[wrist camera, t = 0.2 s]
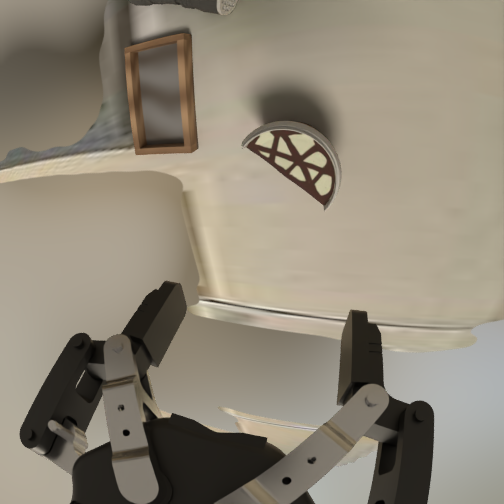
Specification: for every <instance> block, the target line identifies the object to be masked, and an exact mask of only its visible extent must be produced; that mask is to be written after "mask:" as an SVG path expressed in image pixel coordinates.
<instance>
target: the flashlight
mask: <svg viewBox="0 0 504 504" xmlns="http://www.w3.org/2000/svg"><path fill="white" fill-rule="evenodd" d="M128 1H129V2H130V3H132V4H134V5H142V6H146V5H152V4H178V5H180V4H181V5H182V6H183V7H185V8H192V9H195V8H196V9H199V10H201V11H204V12H210V13H215V14H221V15H228V14H229V13H230V12H231V11H232V10H233V9H234V7H235V6H236V4H237V1H238V0H128Z"/></svg>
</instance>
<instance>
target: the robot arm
mask: <svg viewBox="0 0 504 504" xmlns="http://www.w3.org/2000/svg"><path fill="white" fill-rule="evenodd" d="M186 309H187V306H186V301H185V297H184V294H183V290H182V286H181V284H180V283H175V282H170V281H165V282H164V283H163V284H162V286H161V287H160V288H159V290H157V289H155V290H153V291H152V292H151V293H149V294H148V295H147V296H146V297H145V299H144V300H143V302H142V304H141V305H140V306H139V307H138V310H137V311H136V312H135V313H134V315H133V316H132V318H131V319H130V321H129V322H128V324H127V325H126V327H125V328H124V330H123V332H122V333H121V334H116V335H113V336H111V337H110V338H108V339H107V341H96V340H91V338H90V337H89V335H87V334H86V333H78V334H76V335H74V336H73V337H72V338H71V339H70V340H69V342H68V343H67V345H66V347H65V348H64V350H63V351H62V353H61V355H60V356H59V358H58V360H57V361H56V363H55V365H54V366H53V368H52V370H51V371H50V373H49V375H48V377H47V378H46V380H45V382H44V384H43V385H42V387H41V389H40V391H39V393H38V395H37V397H36V398H35V400H34V402H33V404H32V406H31V408H30V410H29V412H28V414H27V416H26V418H25V421H24V422H23V424H22V427H21V429H20V439H21V442H22V444H23V445H24V446H25V447H27V448H29V449H31V450H32V451H34V452H36V453H37V454H38V455H40V456H42V457H44V458H46V459H48V460H50V461H52V462H53V463H55V464H56V465H58V466H59V467H61V468H62V469H63V470H65V471H67V472H68V473H70V474H71V475H72V482H73V495H72V500H71V503H70V504H315V503H314V501H313V500H312V498H311V496H310V495H309V493H308V491H307V490H308V489H309V488H310V487H312V486H313V485H314V484H315V483H316V482H317V481H319V480H320V479H321V478H322V477H323V476H324V475H326V474H327V473H328V472H329V471H330V470H331V469H332V468H333V467H334V466H335V465H336V464H337V463H338V462H339V461H340V460H341V459H342V458H343V457H344V456H345V455H346V454H347V453H348V452H349V451H350V450H351V449H352V448H353V447H354V445H355V444H356V443H357V442H358V441H359V440H360V438H361V437H362V436H366V437H368V438H371V439H374V440H377V441H379V443H378V451H377V458H376V464H375V470H374V475H373V481H372V486H371V491H370V496H369V500H368V504H427V501H428V495H429V488H430V480H431V471H432V459H433V442H434V412H433V409H432V407H431V406H430V405H429V404H428V403H426V402H424V401H415V402H413V403H411V404H407V403H404V402H402V401H399V400H396V399H394V398H392V397H391V396H390V395H389V394H388V393H387V391H386V390H385V387H384V382H383V357H382V346H381V344H382V342H381V333H380V331H379V329H378V327H377V325H376V324H370V323H368V318H367V312H366V311H359V310H350V312H349V315H348V318H347V321H346V324H345V327H344V329H343V333H342V339H341V354H340V355H341V356H340V371H339V384H338V396H337V405H342V406H343V407H342V408H341V410H339V411H338V412H337V413H336V414H335V415H334V416H333V417H332V418H331V419H330V420H329V421H328V422H326V423H325V424H323V425H322V426H321V427H320V428H318V429H317V430H316V431H315V432H314V433H313V434H312V435H310V436H309V437H308V438H307V439H306V440H305V441H304V442H302V443H301V444H300V445H299V446H298V447H296V448H295V449H294V450H293V451H291V452H290V453H289V454H288V455H285V454H284V453H283V452H282V451H281V450H280V449H278V448H277V447H275V446H274V445H272V444H270V443H268V442H267V438H266V437H261V436H255V435H251V434H246V433H218V432H214V431H212V430H210V429H209V428H207V427H205V426H203V425H202V424H200V423H198V422H196V421H195V420H192V419H189V418H186V417H183V416H180V415H177V414H174V413H172V415H171V417H170V418H162V415H161V412H160V410H159V408H158V406H157V404H156V401H155V397H154V393H153V389H152V385H151V380H150V376H149V372H148V368H149V366H150V365H152V366H155V367H158V366H159V364H160V362H161V361H162V359H163V357H164V355H165V353H166V351H167V349H168V347H169V345H170V343H171V341H172V339H173V337H174V335H175V334H176V332H177V330H178V328H179V326H180V324H181V322H182V320H183V319H184V317H185V314H186ZM84 370H85V372H84V374H83V377H82V378H81V380H80V382H79V384H78V385H77V388H76V384H77V382H78V381H79V379H80V377H81V375H82V373H83V371H84ZM102 395H103V400H104V407H105V413H106V420H107V426H108V432H109V436H110V442H107V443H105V444H103V445H101V446H99V447H97V448H95V449H93V450H90V451H88V452H85V449H87V448H88V443H87V438H86V435H85V432H86V429H87V427H88V425H89V423H90V420H91V418H92V416H93V414H94V412H95V410H96V408H97V406H98V403H99V401H100V399H101V397H102Z"/></svg>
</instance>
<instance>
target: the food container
mask: <svg viewBox="0 0 504 504" xmlns="http://www.w3.org/2000/svg"><path fill="white" fill-rule="evenodd" d="M241 146H242V147H243V148H245V147H247V148H248V149H250V150H251V151H252V152H254V153H256V154H257V155H259V156H260V157H261V158H263V159H264V160H265V161H267V162H268V163H269V164H271V165H272V166H273V167H274V168H276V169H277V170H278V171H279V172H280V173H282V174H283V175H284V176H285V177H286V178H288V179H289V180H291V181H292V182H294V183H295V184H297V185H298V186H299V187H301V188H302V189H303V190H305V191H306V192H307V193H309V194H310V195H311V196H312V197H314V198H315V199H316V200H317V201H319V202H320V203H321V204H322V205H324V211H326V210H327V209H328V208H329V207H330V206H331V205H332V203H333V201H334V199H335V198H336V195H337V193H338V190H339V188H340V183H341V165H340V161H339V158H338V155H337V153H336V151H335V149H334V147H333V146H332V144H331V143H330V142H329V140H328V139H327V138H326V137H325V136H323V135H322V134H321V133H320V132H319V131H318V130H316V129H315V128H314V127H312V126H310V125H308V124H305V123H302V122H294V121H276V122H271V123H268V124H265V125H263V126H260V127H259V128H257V129H255V130H254V131H253V132H251V133H250V134H249V135H248V136H247V137H246V138H245V139H244V141H243V142H242V145H241ZM243 148H242V149H243Z"/></svg>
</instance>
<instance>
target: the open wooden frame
mask: <svg viewBox="0 0 504 504" xmlns="http://www.w3.org/2000/svg"><path fill="white" fill-rule="evenodd" d="M125 65H126V79H127V91H128V101H129V110H130V118H131V126H132V133H133V140H134V147H135V153H136V155H146V154H168V153H192V152H194V151H195V150H197V149H198V139H197V127H196V113H195V98H194V82H193V62H192V35H190V34H186V33H180V34H176V35H171V36H167V37H162V38H158V39H154V40H151V41H147V42H143V43H140V44H136V45H133V46H130V47H127V48H125Z"/></svg>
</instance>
